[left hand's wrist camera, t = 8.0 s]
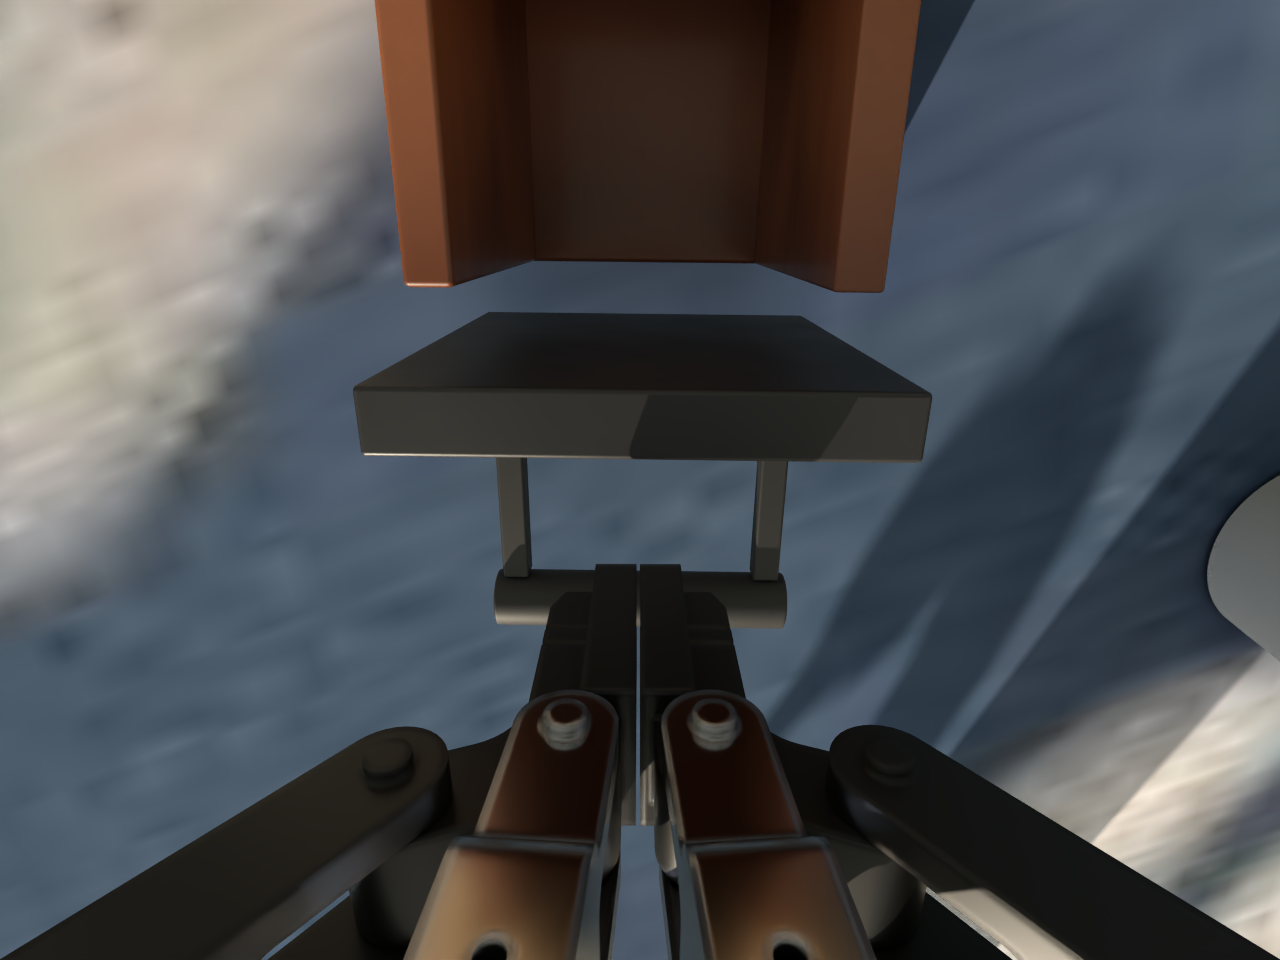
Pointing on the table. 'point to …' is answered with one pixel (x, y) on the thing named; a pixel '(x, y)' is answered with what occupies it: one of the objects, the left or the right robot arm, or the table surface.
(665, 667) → the left robot arm
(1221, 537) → the coffee cup
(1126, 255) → the table surface
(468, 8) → the drawer
